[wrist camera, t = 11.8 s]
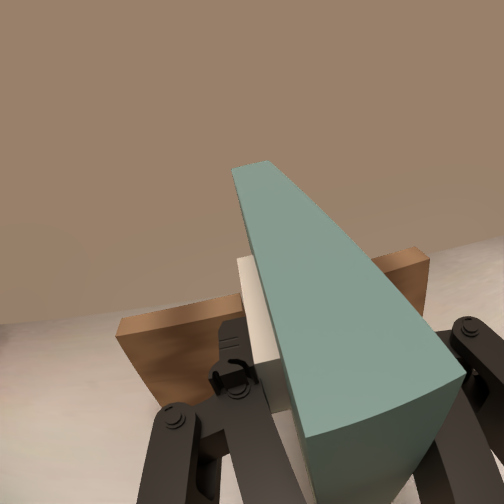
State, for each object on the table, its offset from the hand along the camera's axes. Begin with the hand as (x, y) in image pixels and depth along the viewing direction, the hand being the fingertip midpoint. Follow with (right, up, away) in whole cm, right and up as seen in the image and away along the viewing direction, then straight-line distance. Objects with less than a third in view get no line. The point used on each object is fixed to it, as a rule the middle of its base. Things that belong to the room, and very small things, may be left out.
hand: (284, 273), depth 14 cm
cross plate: (+1, -6, +1) cm, 6 cm away
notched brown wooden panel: (+2, -10, +9) cm, 14 cm away
